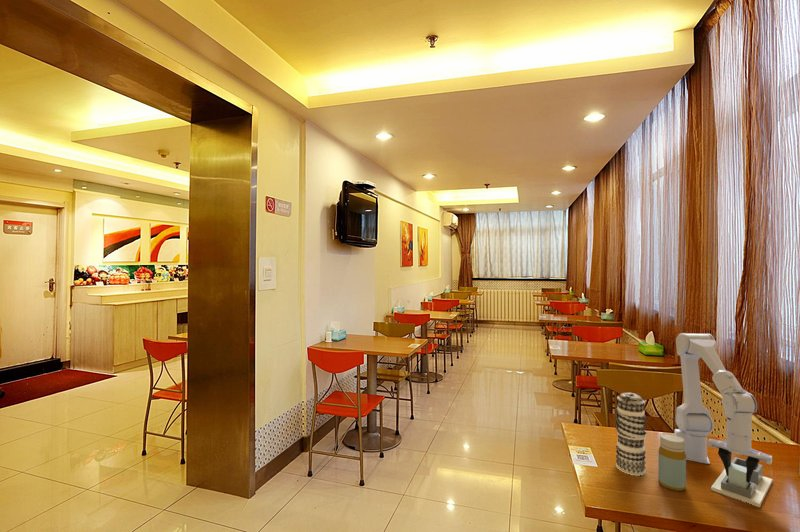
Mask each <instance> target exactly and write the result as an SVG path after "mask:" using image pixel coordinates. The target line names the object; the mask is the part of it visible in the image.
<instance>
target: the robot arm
mask: <svg viewBox="0 0 800 532" xmlns="http://www.w3.org/2000/svg"><path fill="white" fill-rule="evenodd" d="M675 344H676V345H675V346H676V354H677V355H678V356H679V357H680V365H681V366H680V367H681V378H682V379H681V380H682V390H683V400H684V402H683V403H682V404H681V405H679V406H677V407H676V412H675V420H674V421H675V423H676V424H675V425H676V426H677V427H678V428H675V429H674V431H673V432H674V433H673V434H674V435H677V436H680V437H682V438H683V439H684V452H685V454H686V461H690V462H695V463H696V462H697V463H701V464H707V465H711V462H710V459H709V457H708V447H709V448H715V449H718V451H717V455H718V456H719V458H720V459H721V462H722V464H723V467H724V469H725V470H726V474H727V476H729V466H730V465H731V461H732V454H735V455H737V456H743V457H747V458H746V459H745V460H746V468H747V474H746V482H748V483H750V481H751V476H752V473H753V471H754V469H755V467H756V466H757V464H760V462H764V463H765V464H767V465H772V463H773V456H772V454H771V455H770V454H767V453H764V452H762V451H759V450H756V449H755V448H752V434H753V433H752V431H753V430H752V427H753V426H752V425H753V424H752V419H753V416H752V415H753V414H755V413H756V412H757V411H758V402H757V400H756V398H755V396H754V395H753V394H752V393H750V392H748V391H747V390H746V389H744V388H743V387H742V385H741V384H740V382H739V381H738V379H737V378H736V376H735V375H734V373H733V372H731V371H728V370H726V368H725V366H724V364H723V362H722V360H721V358H720V356H719V354H718V352H717V341H716V340H715V337H714V336H713V335H712V334H711V333H686V332H680V333H679V334H678V335H677V336H676V338H675ZM700 359H702V360H703V362H704V364H706V366H707V367H708V368H709V370H710V371H711V372H712V374H713V375H712V378H711V379H712V381H713V383H714V384H715V386H716V388H717V390H718V391H719V393H720V395H721V396H722V397H721V404H722V407H723V409H724V410H723V413H724V416H726V430H725V431H726V434H725V435H726V436H725V437H726V438H725V439H726V440H724V441H723V440H717V439H713V438H709V439H708V436H710V433H712V432H713V430H714V427H715V425H714V420H713V417H712V414H711V412H712V411H710V409H708V408H707V407H706V406H704V405H703V399H702V388H701V377H700V365H699V360H700Z"/></svg>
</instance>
